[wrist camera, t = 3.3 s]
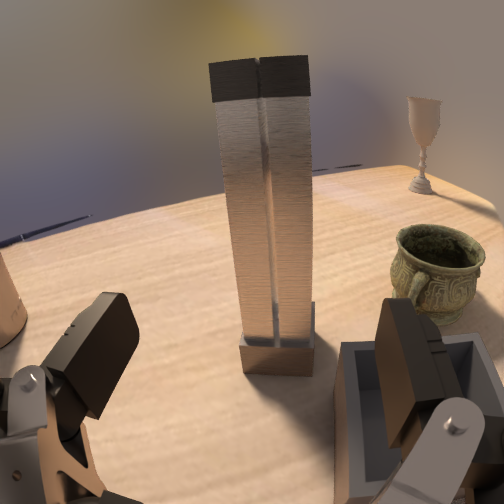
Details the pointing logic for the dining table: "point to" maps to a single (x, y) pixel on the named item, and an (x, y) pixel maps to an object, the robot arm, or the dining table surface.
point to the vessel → (436, 270)
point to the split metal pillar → (269, 206)
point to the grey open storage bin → (373, 418)
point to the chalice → (423, 135)
